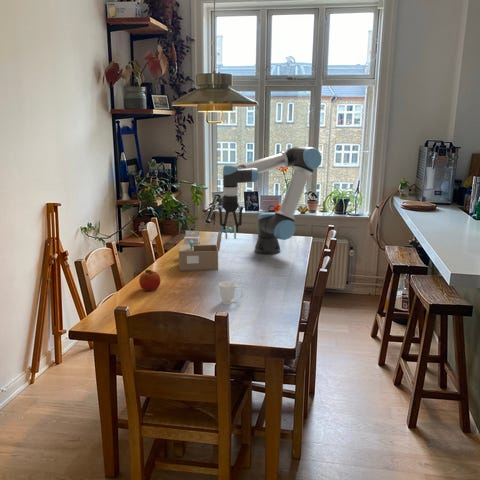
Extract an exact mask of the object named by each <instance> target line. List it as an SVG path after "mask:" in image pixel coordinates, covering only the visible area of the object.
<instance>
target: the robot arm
mask: <svg viewBox="0 0 480 480" xmlns="http://www.w3.org/2000/svg"><path fill="white" fill-rule="evenodd" d="M321 163H322V154H321V152H320V150H318V149H317V148H316V147H313V146H293V147H291V148H287V149H284V150H281V151H279V153H276V154H274V155H270V156H268V157H267V156H266V157H263V158H259V159H256V160H253V161H249V162H246V163H242V164H238V165H236V164H225V165H224V166H223V168H222V182H223V184H222V185H223V186H222V187H223V188H222V190H223V193H222V194H223V196H222V200H223V201H222V202H223V203H222V205H221V206H218V207H217V209H218V212H219V213H218V214H219V227H223V229H222V230H228V229H227V228H228V226H227V222H228V218H229V217H228V216H229V214H230V213H232V215H233V220H234V226H233V239H234V240H235V239H237V233H239V226H242V223H243V222H242V219H243V217H242V216H243V210H244V207H243V206H241V205H239V204H238V201H239V200H238V196H239V195H238V193H239V191H238V188H239V186H238V184H244V183H245V184H246V183H247V184H248V183H250V184H251V183H256V182H258V180H259V176H260V175H259V174H263V173H264V172H265V173H267V172H269V171H271V170H275V169H279V168H283V169H284V168H288V167H292V168H293V173H292V176H291V177H290V178H291V179H290V181H289V184H288V186H287V189H286V191H285V194H284V197H283V200H282V203H281V204H280V208H279V210H278V211H276V212H262V213H259V214H258V216H257V240H256V243H255V246H254V252H255V253H256V254H257V253H258V254H263V255H274V254H275V255H276V254H278V253H281V245H280V243H279V240H281V241H286V240H289V239H290V238H292V236H293V235H294V234H295V232H296V225H295V221H296V218H295V216H294V215H295V213H296V210H297V208H298V205H299V202H300V200H301V197H302V195H303V191H304V189H305V187H306V184H307V182H308V178H309V176H311V175H313V173H314V171H315V170H316V169H318V168H319V167H320V166H321ZM223 209H224V211H225V214H224V219H223V212H222V211H223ZM237 210H239V211H238V219H237V214H236V211H237ZM222 233H225V236H224V238H225V240H228V232H225V231H222Z"/></svg>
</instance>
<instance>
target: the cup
mask: <svg viewBox="0 0 480 480" xmlns="http://www.w3.org/2000/svg"><path fill="white" fill-rule="evenodd" d="M218 288H219V292H220V297H221V300H222V304H224V305H229V304H233V303H235V302H237V301H239V300H240V299H241V298H243V293H244V292H243V289H242V287H241V286H238V285H236V283H235V282H233V281H221V282H220V283H219V284H218ZM236 288H237V289H240V291H241V295H240V296H239V297H238V298H237V299H235V300H234V296H235V290H236Z"/></svg>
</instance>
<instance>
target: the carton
mask: <svg viewBox="0 0 480 480" xmlns="http://www.w3.org/2000/svg"><path fill="white" fill-rule="evenodd" d="M193 247H194V252H179V251H178V264H179V265H178V266H179V272H192V271H193V272H194V271H197V272H198V271H200V272H201V271H218V270H219V251H218V249H217V245H216V244H200V245H193Z"/></svg>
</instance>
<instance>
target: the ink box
mask: <svg viewBox="0 0 480 480" xmlns="http://www.w3.org/2000/svg"><path fill="white" fill-rule="evenodd" d="M190 240H193V245H201V241H200V240H201V239H200V231H199V230H185V235H184V237H183V245H186V244H190Z"/></svg>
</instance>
